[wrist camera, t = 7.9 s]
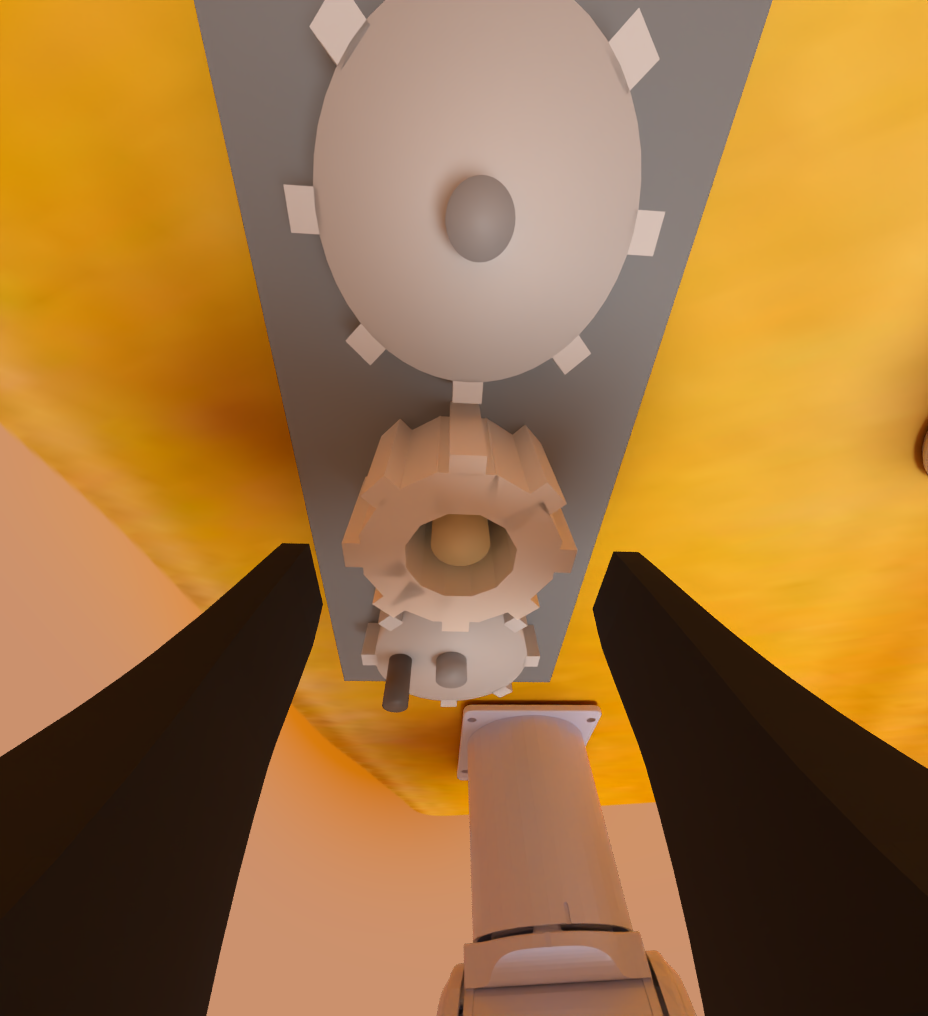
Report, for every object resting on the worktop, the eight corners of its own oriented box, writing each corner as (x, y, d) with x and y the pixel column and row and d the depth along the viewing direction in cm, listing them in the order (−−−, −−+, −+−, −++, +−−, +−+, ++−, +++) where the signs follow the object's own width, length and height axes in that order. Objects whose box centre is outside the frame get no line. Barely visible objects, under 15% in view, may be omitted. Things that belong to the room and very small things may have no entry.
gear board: (545, 660, 20) (565, 755, 16) (350, 658, 20) (326, 756, 16) (745, -15, 7) (1033, -261, 4) (207, -72, 7) (-70, -419, 3)
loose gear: (533, 560, 14) (552, 633, 12) (373, 556, 14) (355, 629, 11) (568, 407, 11) (604, 461, 8) (357, 396, 11) (326, 449, 8)
